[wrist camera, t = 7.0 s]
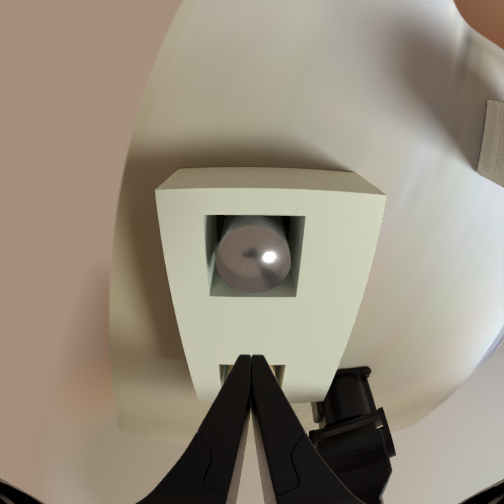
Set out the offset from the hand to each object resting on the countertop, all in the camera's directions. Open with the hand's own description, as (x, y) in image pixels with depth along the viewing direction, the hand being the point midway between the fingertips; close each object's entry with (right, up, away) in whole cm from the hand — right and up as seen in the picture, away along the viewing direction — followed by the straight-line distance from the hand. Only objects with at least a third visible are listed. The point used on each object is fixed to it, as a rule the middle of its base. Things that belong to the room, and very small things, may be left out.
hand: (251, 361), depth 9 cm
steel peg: (0, +6, +10) cm, 12 cm away
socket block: (+1, +1, +13) cm, 13 cm away
